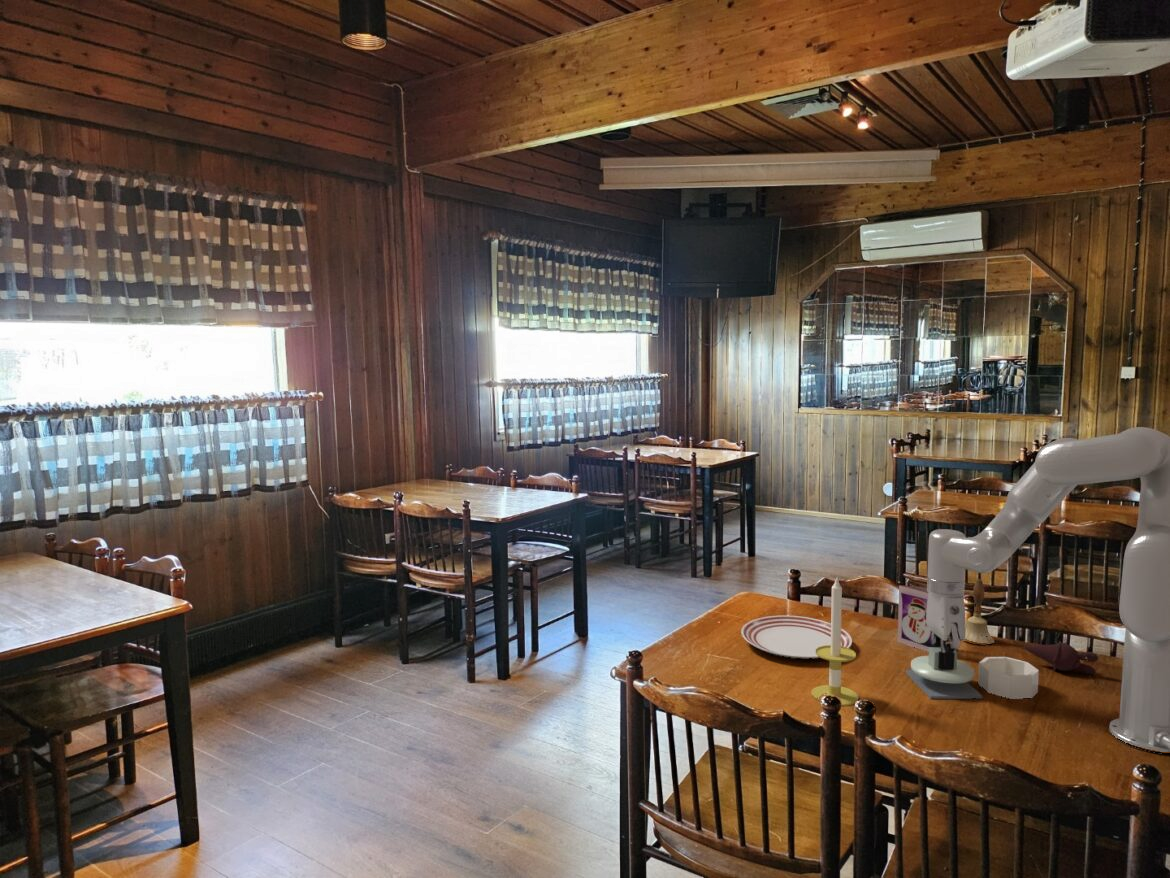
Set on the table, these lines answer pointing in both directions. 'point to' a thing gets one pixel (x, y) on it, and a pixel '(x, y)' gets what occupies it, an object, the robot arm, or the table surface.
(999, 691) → the bowl
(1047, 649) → the icecream
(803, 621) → the dinner plate
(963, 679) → the lid
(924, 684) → the mat
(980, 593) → the hand bell
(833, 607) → the candle
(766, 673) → the table surface
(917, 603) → the greeting card
